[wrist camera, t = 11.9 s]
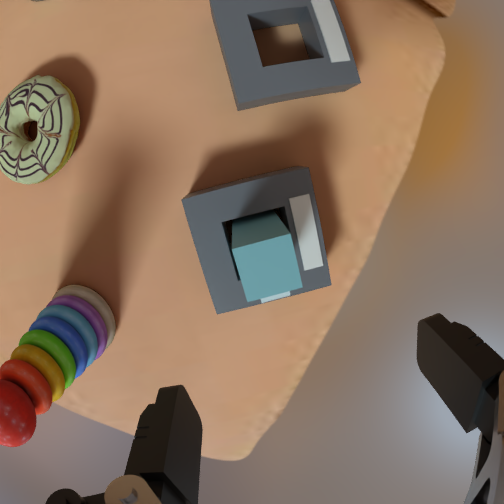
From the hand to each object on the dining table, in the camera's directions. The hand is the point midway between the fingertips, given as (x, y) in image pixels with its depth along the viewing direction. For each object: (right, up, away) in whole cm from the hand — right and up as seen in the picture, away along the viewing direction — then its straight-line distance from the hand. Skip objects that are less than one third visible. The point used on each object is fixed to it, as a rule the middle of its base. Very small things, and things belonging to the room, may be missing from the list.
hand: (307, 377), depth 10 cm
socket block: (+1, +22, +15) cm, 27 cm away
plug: (-1, +6, +19) cm, 20 cm away
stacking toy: (-20, -3, +21) cm, 29 cm away
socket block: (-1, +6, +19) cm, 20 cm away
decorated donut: (-23, +16, +16) cm, 32 cm away
